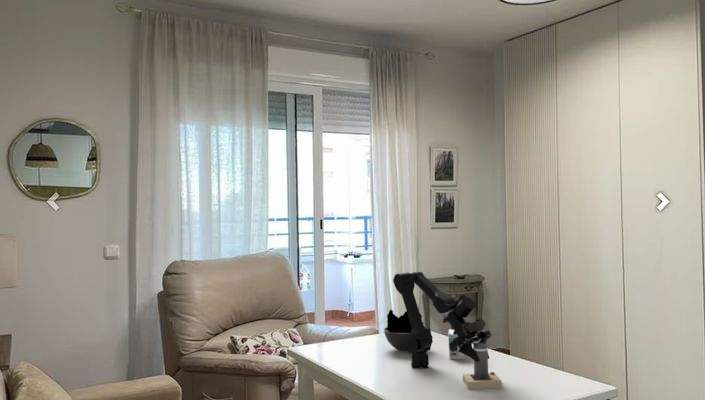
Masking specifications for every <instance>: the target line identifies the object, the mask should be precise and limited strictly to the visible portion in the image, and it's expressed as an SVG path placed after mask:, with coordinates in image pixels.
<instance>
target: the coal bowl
mask: <svg viewBox="0 0 705 400" xmlns="http://www.w3.org/2000/svg"><path fill="white" fill-rule="evenodd" d="M420 316H421V319H422V318H423V316H422V314H421V313H420ZM386 322H387V325H386V326H387V327H385V328H384V330H383V332H384V335H385V339H386V340H387V342H388V343H389V344H390V346H392V347H393V348H394V349H396V350H398V351H401V352H408V351H407V346H408V345H409V343H410V342H411V337H410V335H411V330H412V327H411V324H410V321H409V317H408V314H407V311H406V310H405V311H404V313H403V314H401V315H400V316H398V315H396V314H394V311H393V310H392V309H390V310H388V313H387V321H386ZM423 325H424V322H423ZM425 327H426V328H428V327H427V326H425Z"/></svg>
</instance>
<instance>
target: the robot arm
mask: <svg viewBox="0 0 705 400" xmlns="http://www.w3.org/2000/svg"><path fill="white" fill-rule="evenodd" d="M392 282H393V285H394V287H395V289H396V291H397V293H399V294H400V295H401V298H402V301H403V303H404V307H405V312H406V311H407V314H408V317H409V321H410V324H411V327H412V330H411V335H410V337H411V342H410V343H409V345H408V346H407V351H406V352H408V353H410V355H411V356H410V357H411V363H410V365H411V369H428V368H429V365H430V363H429V362H430V361H429V354H428V351H431V348H432V345H433V343H434V342H433V338H434V337H433V335H432V331H431V328H430V327H429V328H428V327H427V326H425V325H424V324H423V323H424V322H423V320H422V318H421V316H422V315H421V316H420V314H421V312H420V309H419V306H418V303H417V301H416V297H415V294H414V293H415V292H414V290H415V285H416V286H417V287H418V288H419V289H420V290H421V291H422V292H424V294H425V295H426V296H427V297H428V298H429V299H430V300H431V301H432V305H433V307H434V308H435V309H436V311H437V312H438V313H439V314H445V313H447V314H446V315H443V321H442V322H443V323H444V324H446V323H449V325H450V326H451V328H452V329H454V332H453V334H454V335H458V337H455V338H454V339H453V340H452V342H451V343H450V344H449V343H448V350H449V349H450V350H451V352H455V351H457V349H458V348H457V346H459V348H460V349H459V351H458V352H461V353H463V354H465V357H469V358H470V359H472V360H473V361H474V360H475V361H476V362H479V361H480V360H479V358H478V356H477V354H476V353H475V351H474V349H473V344H474V343H485V344H487V343H486V342H487V341H488V340H489V339H490V338H491V337H492V333H491V331H490V330H488V329H486V330H484V329H485V327H486V322H485V320H484V319H483V318H478V319H476V320H475V321H473V322H470V321H467V320H466V318H468V317H469V316H470V315H471V314H472V312H473V311H474V310H475V309H476V307H477V303H476V302H475V300H473V299H472V298H470V297H468V296H466V294H461V295H460V296H459V298H458V299H457V300H456V299H455V298H454V297H453V296H451V295H449V293H445V292H442V290H440V289H439V288H437V286H436V285H435V284H433V282H431V281H430V280H429V279H428V278H427V277H426V276H425V275H424V273H423V272H421V271H414V272H413V271H412V273H411V272H402V273H400V272H399V273H396V274H394V276H393V279H392ZM426 327H427V328H426ZM489 359H490V355H489V354H488V360H489Z"/></svg>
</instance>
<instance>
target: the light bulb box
mask: <svg viewBox="0 0 705 400" xmlns="http://www.w3.org/2000/svg"><path fill="white" fill-rule="evenodd" d="M453 332H454V329H453V328H452V329H451V328H450V329H448V336H447V337H448V345H449V344H450V343H451V342H452V340H453V339H454V338H455V337H458V335H454V334H453ZM457 348H458V349H457V351H455V352H451V350H450V349H449V348H448V353H449V355H448V356H449V358H448V359H449V360H465V359H466V358H465V357H466V355H465V354H463V353H461V352H458V351H459V349H460V348H459V346H457Z"/></svg>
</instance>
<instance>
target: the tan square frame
mask: <svg viewBox="0 0 705 400" xmlns="http://www.w3.org/2000/svg"><path fill="white" fill-rule="evenodd" d="M462 382H463V383H464V385H465V386H466V388H467V389H468V390H481V389H482V390H484V389H485V390H486V389H502V388H503V385H502V380H501V379H500V377H499V376H498V375H497V374H496V373H495V372H494V371H490V372H488V379H483V380H481V379H476V378H474V373H462Z"/></svg>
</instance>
